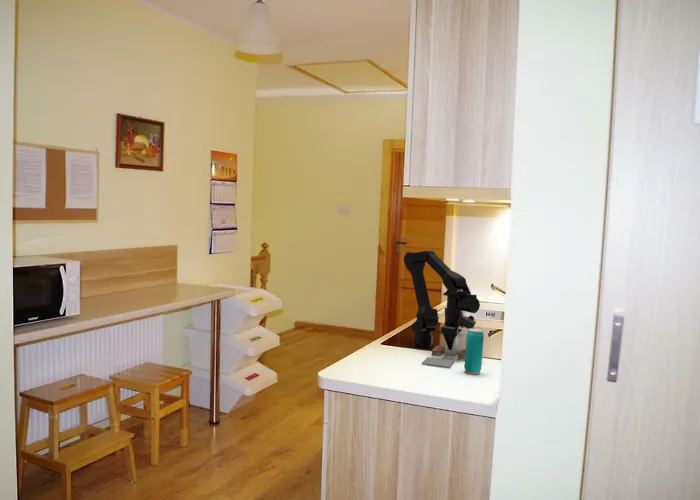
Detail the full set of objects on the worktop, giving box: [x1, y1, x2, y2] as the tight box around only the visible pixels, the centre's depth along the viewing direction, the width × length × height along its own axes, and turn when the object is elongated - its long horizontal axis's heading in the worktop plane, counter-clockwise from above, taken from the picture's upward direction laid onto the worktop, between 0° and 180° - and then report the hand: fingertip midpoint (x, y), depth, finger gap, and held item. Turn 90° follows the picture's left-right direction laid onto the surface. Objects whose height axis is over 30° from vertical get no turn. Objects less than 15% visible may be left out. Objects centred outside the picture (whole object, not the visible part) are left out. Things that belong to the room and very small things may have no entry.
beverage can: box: [464, 328, 485, 376], centre depth 199 cm, size 6×6×15 cm
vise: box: [431, 345, 466, 361], centre depth 222 cm, size 18×9×2 cm, turn 71°
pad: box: [421, 356, 455, 369], centre depth 210 cm, size 10×10×1 cm
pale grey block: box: [444, 334, 459, 358], centre depth 223 cm, size 4×4×8 cm
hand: (451, 348), depth 223 cm, fingers closed on pale grey block, 4 cm apart
